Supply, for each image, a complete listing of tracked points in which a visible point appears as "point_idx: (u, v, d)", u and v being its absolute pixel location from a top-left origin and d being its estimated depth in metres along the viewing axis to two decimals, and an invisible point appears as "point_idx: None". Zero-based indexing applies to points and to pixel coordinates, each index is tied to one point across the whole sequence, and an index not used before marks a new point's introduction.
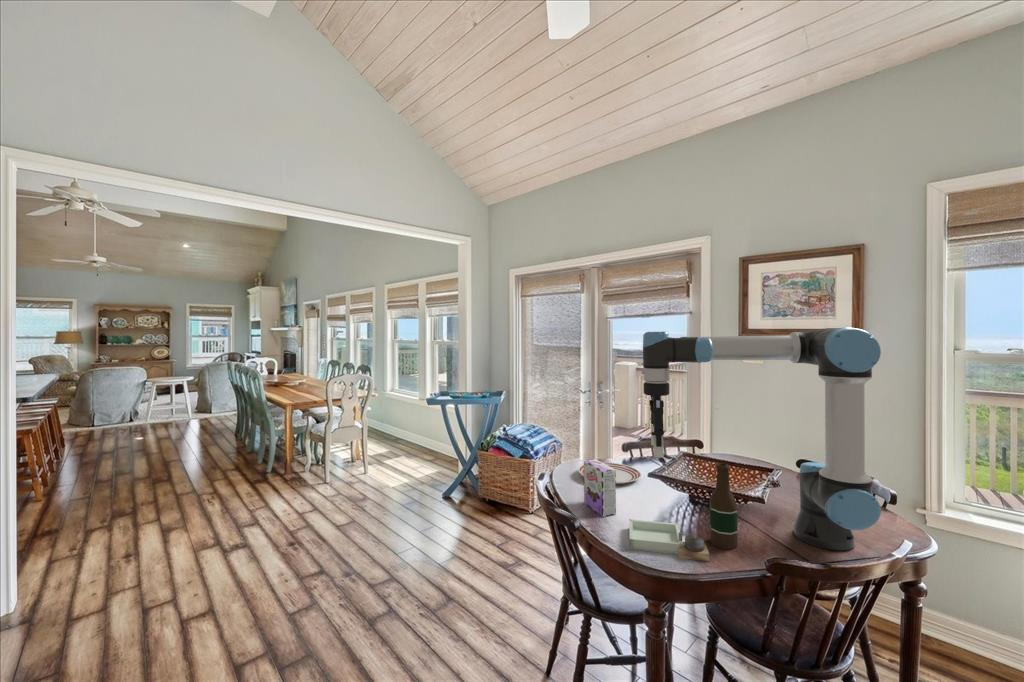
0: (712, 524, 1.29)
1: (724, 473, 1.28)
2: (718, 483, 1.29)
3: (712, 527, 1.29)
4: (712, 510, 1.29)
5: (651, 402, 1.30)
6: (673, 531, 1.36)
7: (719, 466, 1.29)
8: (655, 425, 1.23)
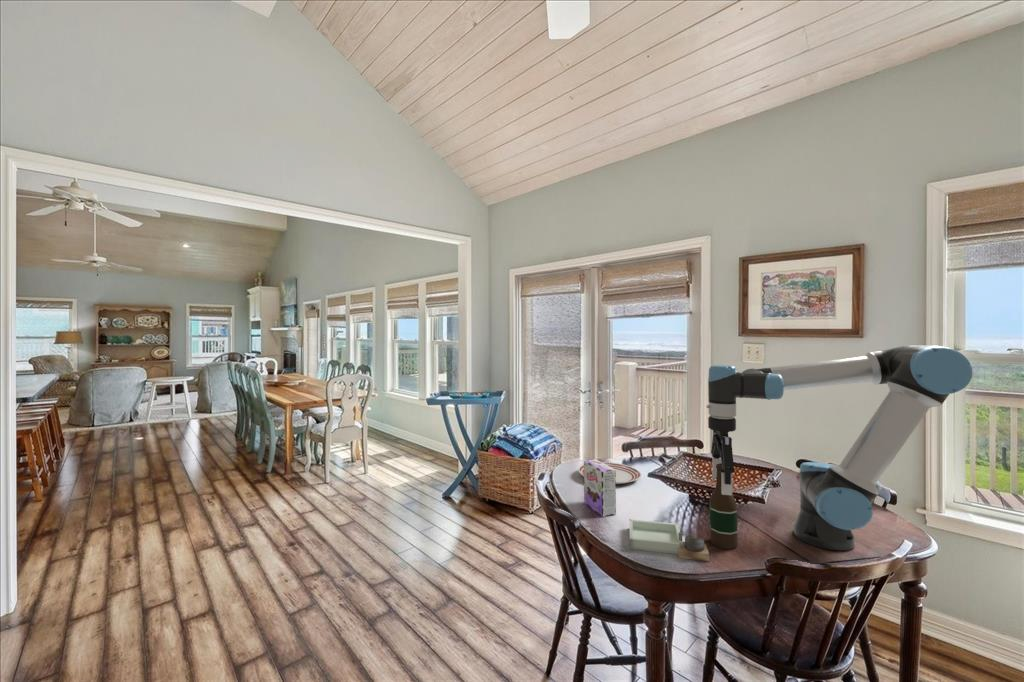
0: (712, 524, 1.29)
1: None
2: (718, 483, 1.29)
3: (712, 527, 1.29)
4: (712, 510, 1.29)
5: (717, 437, 1.28)
6: (673, 531, 1.36)
7: (719, 466, 1.29)
8: (725, 462, 1.21)
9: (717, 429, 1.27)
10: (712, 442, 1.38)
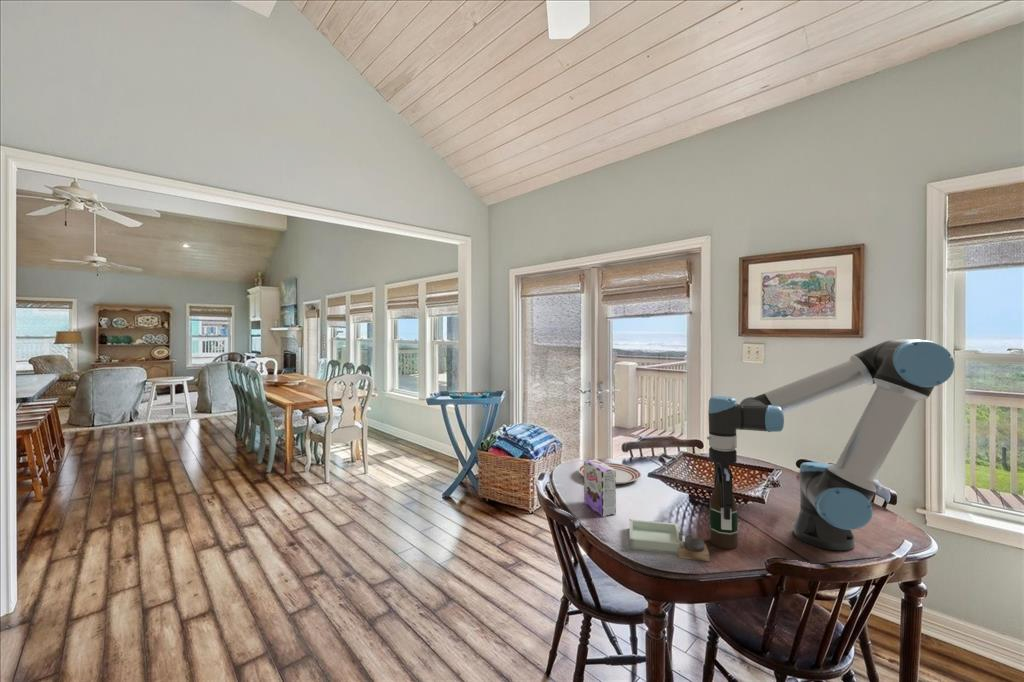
0: (712, 524, 1.29)
1: None
2: (718, 483, 1.29)
3: (712, 527, 1.29)
4: (712, 510, 1.29)
5: (718, 469, 1.28)
6: (673, 531, 1.36)
7: (719, 466, 1.29)
8: (725, 499, 1.23)
9: (718, 461, 1.27)
10: (714, 477, 1.36)
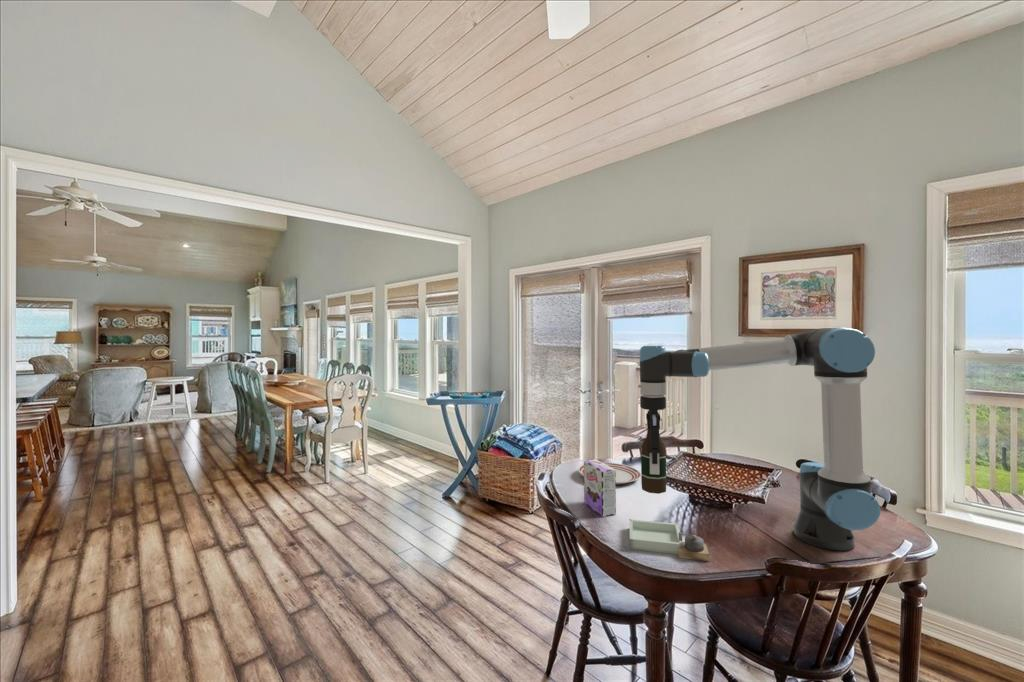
0: (642, 470, 1.31)
1: None
2: (648, 430, 1.31)
3: (642, 473, 1.31)
4: (642, 456, 1.31)
5: (648, 416, 1.30)
6: (673, 531, 1.36)
7: (649, 413, 1.31)
8: (651, 443, 1.25)
9: (647, 408, 1.29)
10: None
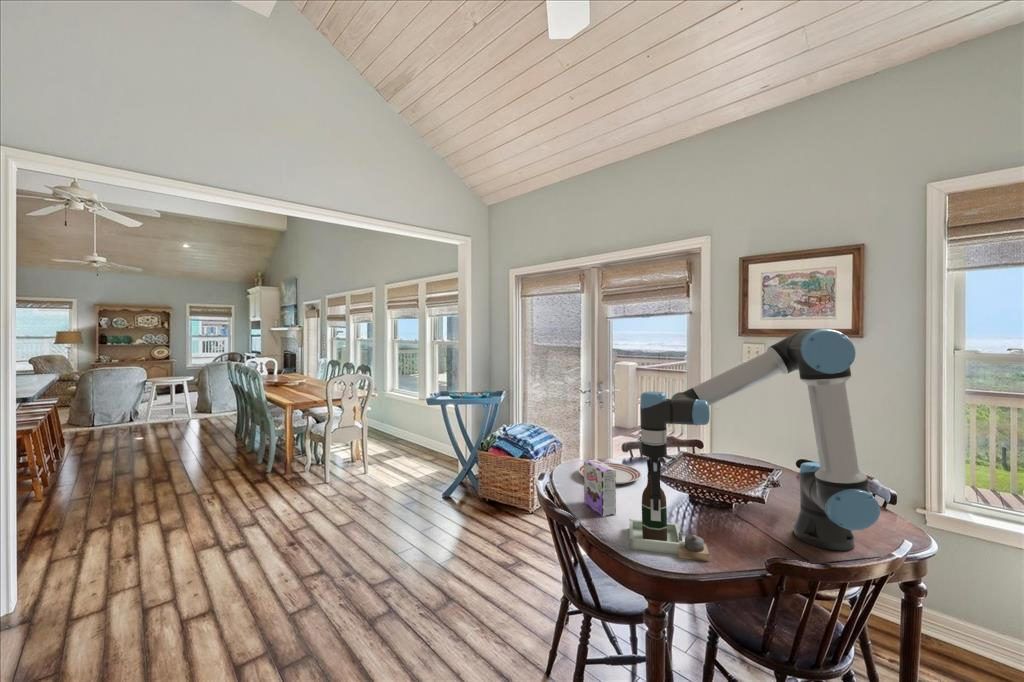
0: (643, 520, 1.31)
1: None
2: (648, 480, 1.31)
3: (643, 523, 1.31)
4: (643, 506, 1.31)
5: (648, 463, 1.31)
6: (673, 531, 1.36)
7: None
8: (652, 489, 1.23)
9: (647, 455, 1.29)
10: None
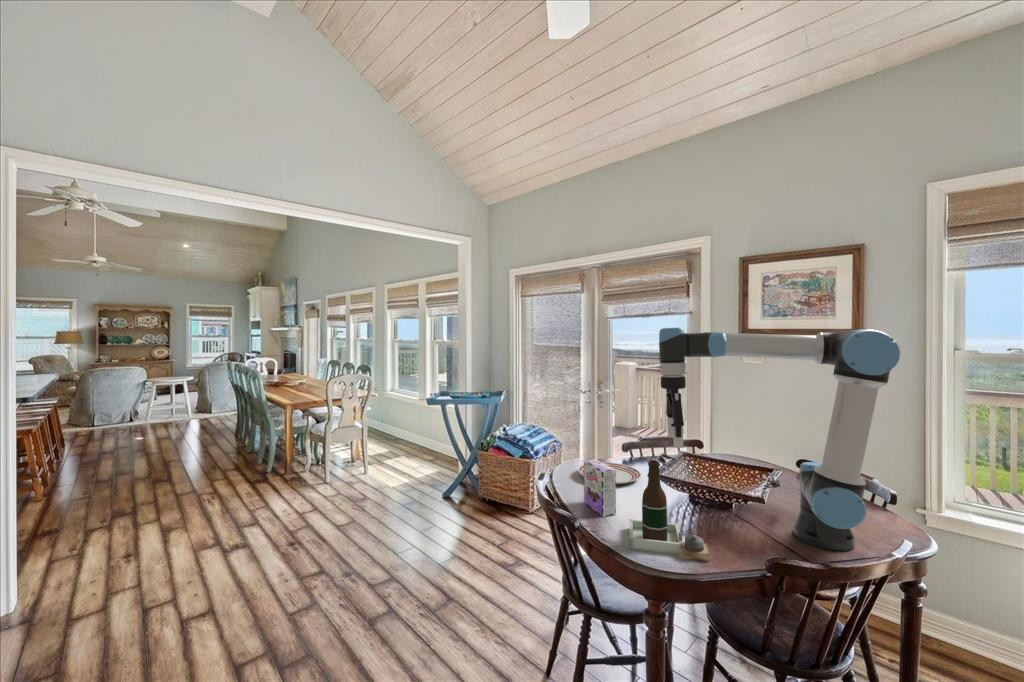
0: (643, 520, 1.31)
1: (654, 470, 1.30)
2: (649, 480, 1.31)
3: (643, 523, 1.31)
4: (643, 506, 1.31)
5: (669, 395, 1.36)
6: (673, 531, 1.36)
7: (650, 463, 1.31)
8: (675, 416, 1.28)
9: (668, 387, 1.34)
10: None
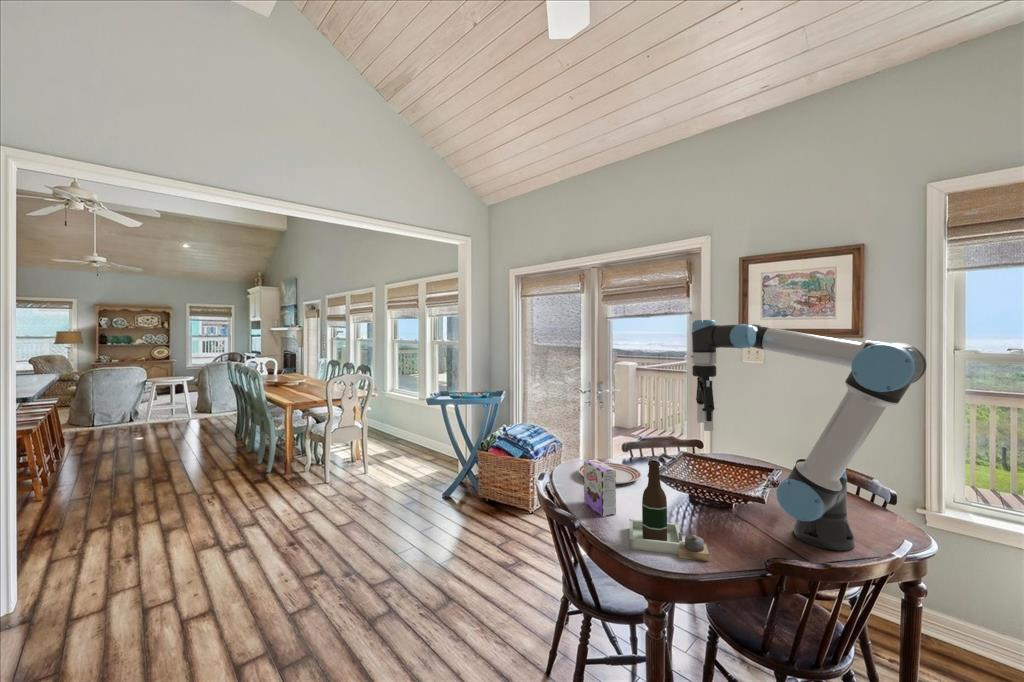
0: (643, 520, 1.31)
1: (654, 470, 1.30)
2: (649, 480, 1.31)
3: (643, 523, 1.31)
4: (643, 506, 1.31)
5: (700, 383, 1.46)
6: (673, 531, 1.36)
7: (650, 463, 1.31)
8: (706, 401, 1.39)
9: (700, 375, 1.45)
10: (697, 390, 1.55)
